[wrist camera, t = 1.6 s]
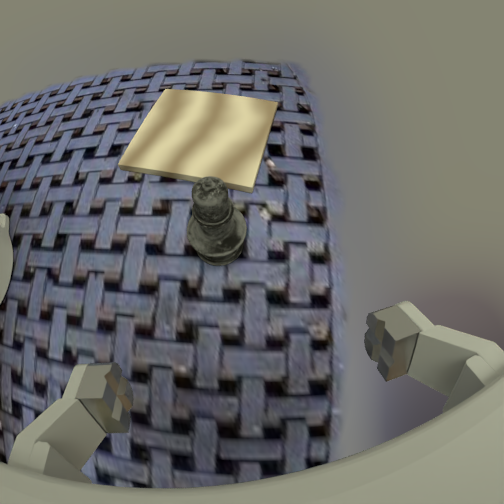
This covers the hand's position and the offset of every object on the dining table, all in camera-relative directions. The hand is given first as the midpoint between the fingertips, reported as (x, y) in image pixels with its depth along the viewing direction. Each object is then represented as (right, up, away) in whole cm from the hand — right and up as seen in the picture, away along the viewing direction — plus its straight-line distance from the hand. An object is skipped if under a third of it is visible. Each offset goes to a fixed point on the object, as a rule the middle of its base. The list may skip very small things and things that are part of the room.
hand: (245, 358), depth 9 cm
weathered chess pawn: (-3, +4, +23) cm, 24 cm away
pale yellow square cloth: (-7, +19, +29) cm, 36 cm away
